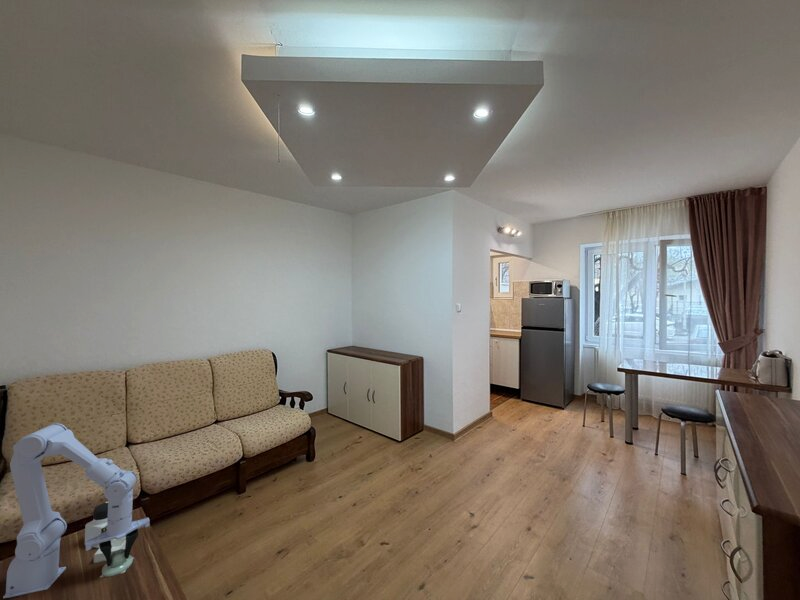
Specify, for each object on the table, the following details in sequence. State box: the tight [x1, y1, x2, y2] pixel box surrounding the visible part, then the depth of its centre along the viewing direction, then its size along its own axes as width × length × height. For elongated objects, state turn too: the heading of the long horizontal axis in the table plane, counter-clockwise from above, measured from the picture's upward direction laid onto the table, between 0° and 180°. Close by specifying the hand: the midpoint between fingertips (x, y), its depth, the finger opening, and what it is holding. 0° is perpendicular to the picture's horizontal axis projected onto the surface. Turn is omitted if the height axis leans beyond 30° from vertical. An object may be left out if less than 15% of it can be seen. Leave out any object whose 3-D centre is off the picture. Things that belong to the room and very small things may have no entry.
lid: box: [101, 549, 134, 578], centre depth 96 cm, size 7×7×4 cm
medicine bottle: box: [84, 501, 108, 549], centre depth 108 cm, size 7×7×12 cm
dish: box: [93, 536, 126, 564], centre depth 101 cm, size 6×6×3 cm
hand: (117, 560), depth 96 cm, fingers open, 3 cm apart
